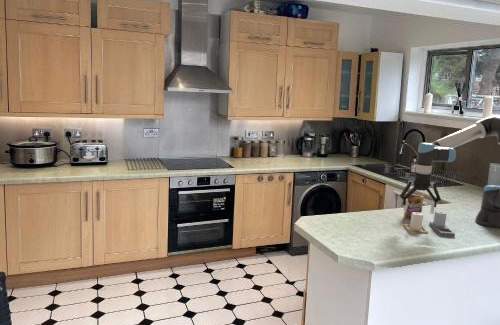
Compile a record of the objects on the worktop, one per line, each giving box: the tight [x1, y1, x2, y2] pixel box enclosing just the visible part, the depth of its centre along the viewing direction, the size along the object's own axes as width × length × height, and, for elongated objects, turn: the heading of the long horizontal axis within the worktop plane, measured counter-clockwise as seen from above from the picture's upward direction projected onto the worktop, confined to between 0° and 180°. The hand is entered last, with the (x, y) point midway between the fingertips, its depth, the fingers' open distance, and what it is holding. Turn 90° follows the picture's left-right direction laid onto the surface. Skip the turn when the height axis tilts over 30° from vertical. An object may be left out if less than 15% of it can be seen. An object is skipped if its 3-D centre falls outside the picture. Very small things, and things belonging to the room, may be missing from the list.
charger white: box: [409, 212, 424, 231], centre depth 220 cm, size 4×4×9 cm
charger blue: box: [432, 210, 447, 227], centre depth 225 cm, size 4×4×9 cm
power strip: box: [428, 221, 456, 238], centre depth 225 cm, size 25×7×4 cm, turn 174°
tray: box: [402, 223, 429, 235], centre depth 221 cm, size 10×10×2 cm
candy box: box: [403, 193, 425, 220], centre depth 240 cm, size 9×4×15 cm, turn 60°
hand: (418, 212), depth 219 cm, fingers open, 13 cm apart
